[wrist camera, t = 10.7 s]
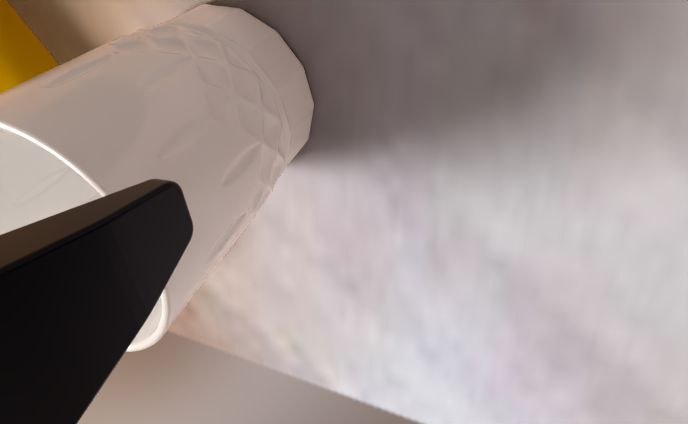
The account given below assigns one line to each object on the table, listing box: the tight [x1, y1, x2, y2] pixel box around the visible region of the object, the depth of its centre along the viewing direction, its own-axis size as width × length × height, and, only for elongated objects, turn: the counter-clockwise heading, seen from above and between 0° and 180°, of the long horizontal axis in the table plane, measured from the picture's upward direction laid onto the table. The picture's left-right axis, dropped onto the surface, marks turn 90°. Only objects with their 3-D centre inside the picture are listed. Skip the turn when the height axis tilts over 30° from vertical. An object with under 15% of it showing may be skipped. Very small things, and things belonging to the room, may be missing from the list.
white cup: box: [0, 4, 314, 352], centre depth 20 cm, size 8×8×10 cm
